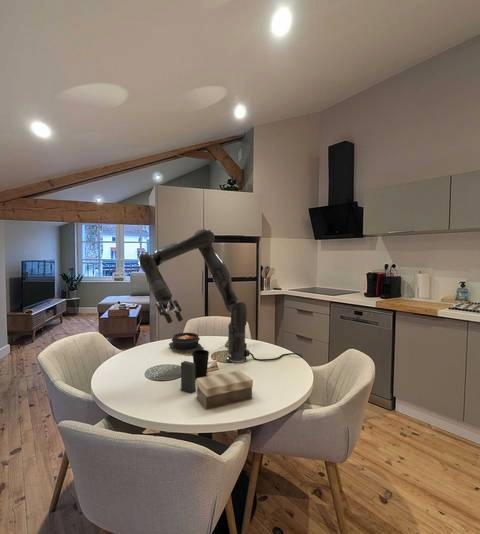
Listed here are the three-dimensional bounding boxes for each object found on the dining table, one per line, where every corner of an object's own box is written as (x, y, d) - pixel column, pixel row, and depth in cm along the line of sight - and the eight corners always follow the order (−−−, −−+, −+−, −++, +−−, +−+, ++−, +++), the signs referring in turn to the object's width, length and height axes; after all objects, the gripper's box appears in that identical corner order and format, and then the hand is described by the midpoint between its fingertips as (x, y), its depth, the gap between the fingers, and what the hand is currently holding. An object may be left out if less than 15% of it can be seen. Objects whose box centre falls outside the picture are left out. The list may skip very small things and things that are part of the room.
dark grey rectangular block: (185, 387, 137) (185, 360, 136) (196, 390, 134) (196, 362, 133) (180, 390, 134) (180, 362, 133) (191, 393, 131) (191, 365, 130)
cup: (211, 375, 150) (211, 350, 150) (205, 381, 143) (205, 355, 142) (196, 373, 153) (196, 348, 152) (189, 379, 145) (189, 353, 145)
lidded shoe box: (239, 388, 136) (239, 370, 136) (252, 399, 126) (252, 379, 126) (196, 397, 127) (196, 378, 127) (206, 409, 117) (206, 389, 117)
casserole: (210, 350, 186) (210, 337, 186) (184, 358, 174) (184, 343, 174) (186, 341, 205) (186, 329, 204) (161, 347, 192) (161, 334, 192)
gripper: (157, 286, 138) (173, 319, 134) (175, 286, 151) (190, 316, 147) (145, 295, 140) (160, 327, 136) (164, 294, 153) (178, 323, 149)
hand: (175, 321), depth 141 cm, fingers open, 8 cm apart
